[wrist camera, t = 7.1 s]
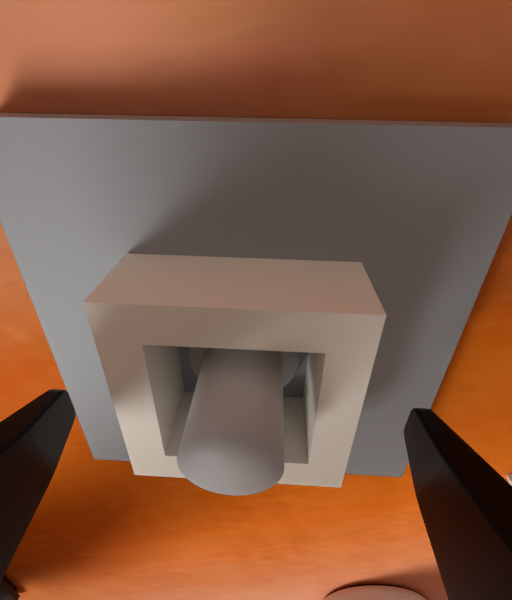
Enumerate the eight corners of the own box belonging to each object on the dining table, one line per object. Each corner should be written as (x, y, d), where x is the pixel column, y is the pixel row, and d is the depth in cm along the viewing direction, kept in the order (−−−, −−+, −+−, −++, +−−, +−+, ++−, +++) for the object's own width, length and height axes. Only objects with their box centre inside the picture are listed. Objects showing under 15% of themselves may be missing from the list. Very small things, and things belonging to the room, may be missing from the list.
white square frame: (330, 419, 13) (340, 487, 11) (158, 410, 13) (134, 474, 11) (361, 262, 9) (386, 315, 7) (126, 253, 9) (83, 302, 7)
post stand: (393, 451, 15) (440, 599, 11) (105, 434, 16) (39, 570, 11) (514, 123, 8) (776, 166, 4) (-5, 112, 9) (-283, 140, 4)
